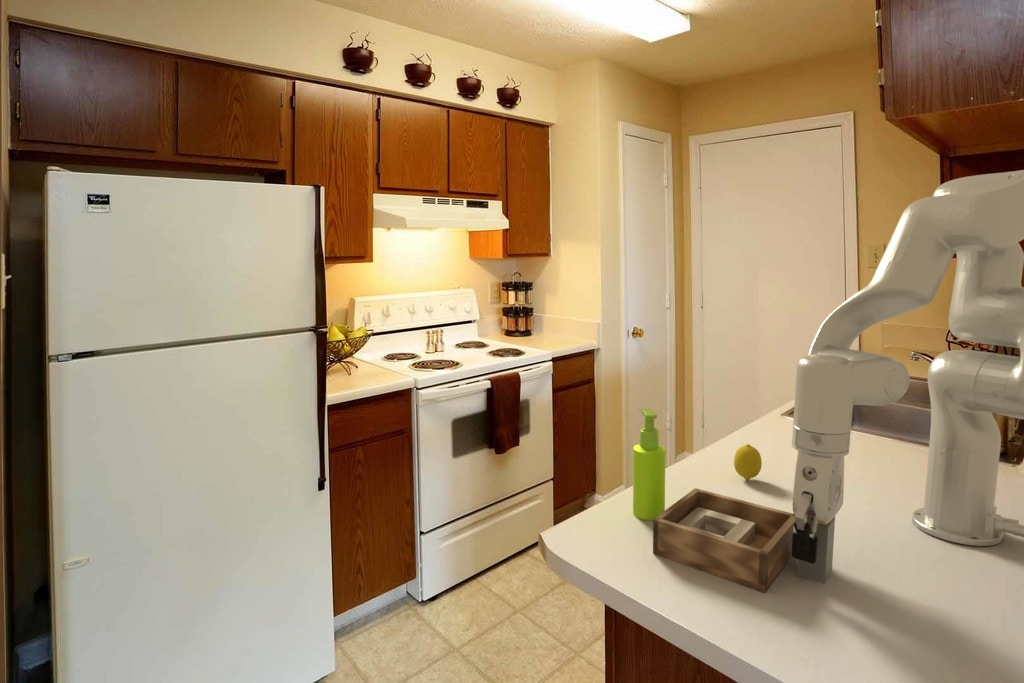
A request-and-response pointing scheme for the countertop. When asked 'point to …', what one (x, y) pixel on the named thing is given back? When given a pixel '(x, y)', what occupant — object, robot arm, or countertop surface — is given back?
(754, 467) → the lemon
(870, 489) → the countertop surface
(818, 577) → the plug
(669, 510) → the crate
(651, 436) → the soap dispenser
